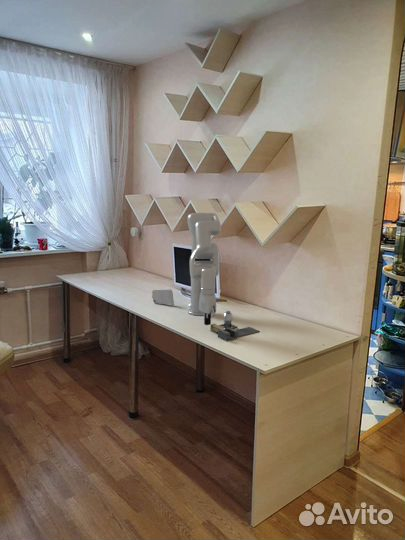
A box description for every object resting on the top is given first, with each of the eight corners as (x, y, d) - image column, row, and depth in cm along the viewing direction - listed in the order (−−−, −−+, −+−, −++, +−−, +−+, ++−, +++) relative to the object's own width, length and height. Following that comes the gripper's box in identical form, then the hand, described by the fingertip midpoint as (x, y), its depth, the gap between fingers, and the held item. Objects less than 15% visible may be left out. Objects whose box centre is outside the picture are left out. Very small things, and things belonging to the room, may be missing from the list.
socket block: (217, 337, 207) (218, 329, 206) (228, 334, 211) (228, 327, 211) (226, 341, 202) (226, 333, 201) (237, 338, 206) (237, 331, 205)
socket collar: (217, 326, 223) (217, 325, 223) (228, 324, 228) (228, 322, 228) (226, 330, 217) (226, 329, 217) (237, 327, 222) (237, 326, 222)
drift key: (210, 329, 215) (210, 324, 215) (214, 328, 217) (214, 323, 216) (222, 334, 207) (222, 329, 207) (226, 333, 209) (226, 328, 209)
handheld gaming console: (155, 305, 270) (174, 305, 263) (152, 306, 267) (172, 306, 260) (153, 288, 268) (172, 288, 261) (150, 289, 266) (170, 289, 259)
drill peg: (222, 326, 223) (222, 311, 221) (227, 325, 225) (228, 309, 224) (227, 329, 220) (227, 312, 218) (232, 327, 222) (233, 311, 220)
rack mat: (228, 332, 214) (228, 332, 214) (249, 327, 223) (249, 326, 223) (238, 337, 208) (238, 336, 207) (259, 331, 216) (259, 330, 216)
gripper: (194, 289, 219) (193, 322, 223) (211, 295, 208) (210, 329, 211) (205, 287, 224) (204, 319, 227) (222, 293, 212) (221, 327, 216)
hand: (207, 324), depth 219 cm, fingers closed
